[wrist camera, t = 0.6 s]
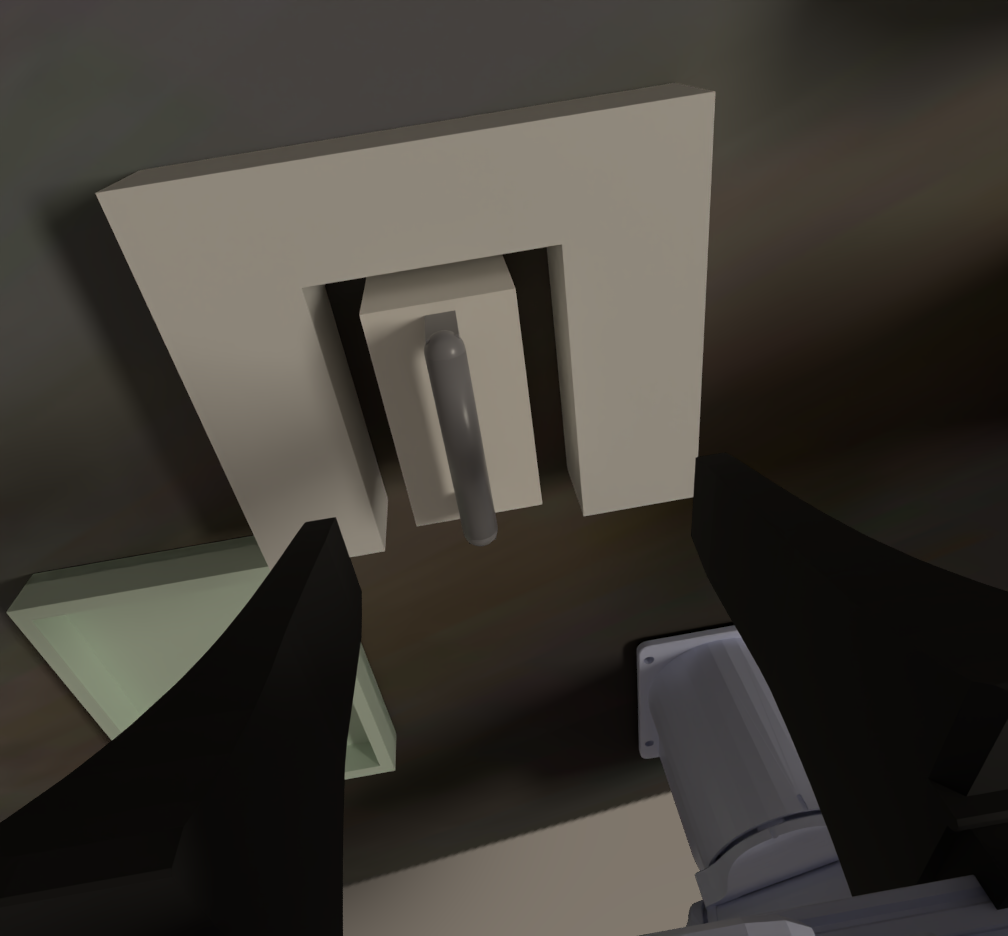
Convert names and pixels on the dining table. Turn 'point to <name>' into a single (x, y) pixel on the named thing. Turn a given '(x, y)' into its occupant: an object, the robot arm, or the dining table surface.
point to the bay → (422, 243)
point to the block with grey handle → (455, 390)
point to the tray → (165, 635)
